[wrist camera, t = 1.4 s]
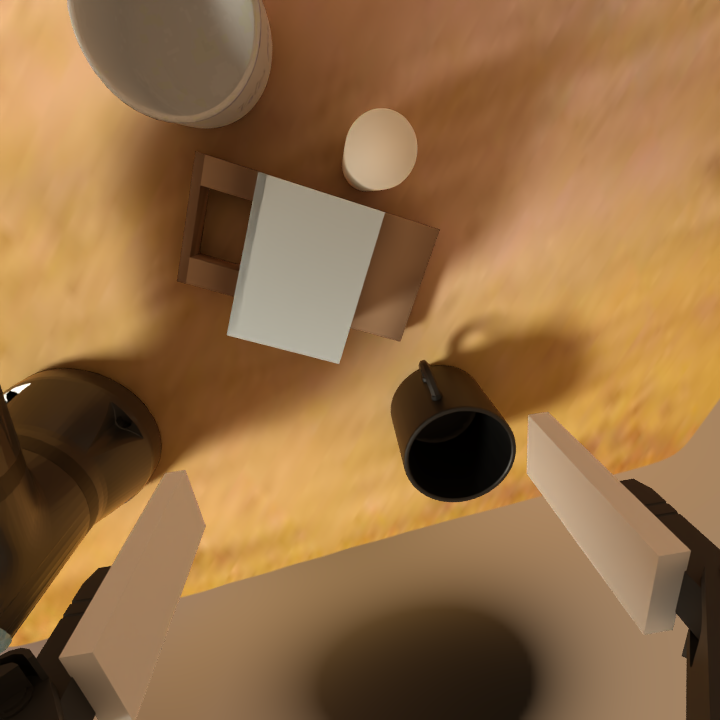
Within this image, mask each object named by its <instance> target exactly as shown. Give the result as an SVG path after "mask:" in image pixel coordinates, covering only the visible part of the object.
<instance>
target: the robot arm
mask: <svg viewBox="0 0 720 720" xmlns="http://www.w3.org/2000/svg"><path fill="white" fill-rule="evenodd" d="M160 455H161V438H160V433H159V430H158V427H157V424H156V422H155V420H154V418H153V416H152V415H151V413H150V412H149V410H148V409H147V408H146V406H145V405H144V404H143V403H142V402H141V401H140V400H139V399H138V398H137V397H136V396H135V395H134V394H133V393H132V392H130V391H129V390H128V389H126V388H125V387H123V386H122V385H120V384H119V383H117V382H115V381H113V380H111V379H109V378H107V377H104V376H102V375H99V374H96V373H93V372H89V371H84V370H78V369H52V370H46V371H42V372H39V373H36V374H33V375H31V376H29V377H27V378H26V379H24V380H22V381H21V382H19V383H17V384H16V385H14V386H12V387H10V388H9V389H8V390H6V391H5V392H4V393H3V392H2V389H1V386H0V653H1V652H3V651H5V650H6V649H7V648H8V646H9V645H10V643H11V641H12V640H11V639H12V638H13V636H14V635H15V633H16V632H17V631H18V629H19V628H20V626H21V625H22V624H23V622H24V621H25V619H26V618H27V617H28V615H29V614H30V612H31V611H32V610H33V608H34V607H35V605H36V604H37V603H38V601H39V600H40V598H41V597H42V596H43V594H44V593H45V591H46V590H47V589H48V587H49V586H50V584H51V583H52V582H53V580H54V579H55V577H56V576H57V575H58V573H59V572H60V570H61V569H62V568H63V566H64V565H65V563H66V562H67V561H68V559H69V558H70V556H71V555H72V554H73V552H74V551H75V549H76V548H77V547H78V545H79V544H80V543H81V541H82V540H83V538H84V537H85V536H86V534H87V533H88V532H89V530H90V529H91V528H92V526H93V525H94V524H96V523H97V522H98V521H100V520H101V519H103V518H104V517H106V516H107V515H109V514H110V513H112V512H113V511H114V510H116V509H117V508H118V507H120V506H121V505H123V504H124V503H126V502H128V501H129V500H130V499H132V498H133V497H134V496H135V495H137V494H138V493H139V492H140V491H141V489H142V488H143V487H144V486H145V484H146V483H147V481H148V480H149V478H150V477H151V475H152V474H153V472H154V471H155V469H156V467H157V465H158V462H159V459H160ZM527 474H528V476H529V477H530V479H531V480H532V481H533V483H534V484H535V485H536V487H537V488H538V490H539V491H540V492H541V494H542V495H543V496H544V498H545V499H546V500H547V502H548V503H549V505H550V506H551V507H552V509H553V510H554V512H555V513H556V514H557V516H558V517H559V518H560V520H561V521H562V523H563V524H564V525H565V527H566V528H567V530H568V531H569V532H570V534H571V535H572V536H573V538H574V539H575V541H576V542H577V543H578V545H579V546H580V547H581V549H582V550H583V552H584V553H585V554H586V556H587V557H588V558H589V560H590V561H591V563H592V564H593V565H594V567H595V568H596V570H597V571H598V572H599V574H600V575H601V576H602V578H603V579H604V580H605V582H606V583H607V585H608V586H609V587H610V589H611V590H612V592H613V593H614V594H615V596H616V597H617V599H618V600H619V601H620V603H621V604H622V605H623V607H624V608H625V610H626V611H627V612H628V614H629V615H630V616H631V618H632V619H633V620H634V622H635V623H636V625H637V626H638V627H639V629H640V630H641V632H642V633H643V634H644V635H646V634H652V633H657V632H663V631H669V630H673V626H674V622H675V618H676V614H677V615H678V616H679V617H680V618H681V620H682V621H683V622H684V623H685V624H686V625H687V627H688V628H689V630H688V633H687V638H686V642H685V646H684V649H683V653H682V656H683V657H685V658H687V680H686V682H687V683H686V687H687V689H686V720H720V549H719V548H717V547H716V546H715V545H714V544H713V543H712V542H711V541H709V539H707V538H706V537H705V536H704V535H703V534H702V533H700V531H699V530H697V529H696V528H695V527H694V526H693V525H692V524H691V523H689V522H688V521H687V520H686V519H685V518H684V517H683V516H682V515H680V514H678V513H677V511H676V510H675V509H674V508H673V507H672V506H671V505H669V504H667V503H666V501H665V500H664V499H662V497H660V495H658V494H657V493H656V492H655V491H654V490H653V489H652V488H650V487H648V486H646V485H644V484H642V483H640V482H638V481H637V480H635V479H629V480H623V481H619V480H618V479H616V478H615V477H614V476H613V475H612V474H611V473H610V472H609V471H608V470H607V469H606V468H605V467H604V466H603V465H602V464H601V463H600V462H599V461H598V460H597V459H596V458H595V457H594V456H593V455H592V454H591V453H590V452H589V451H588V450H587V449H586V448H585V447H584V446H583V445H582V444H581V443H579V442H578V441H577V440H576V439H575V438H574V437H573V436H572V435H571V434H570V433H569V432H568V431H567V430H566V429H565V428H564V427H563V426H562V425H561V424H560V423H559V422H558V421H557V420H556V419H555V418H554V417H553V416H552V415H551V414H550V413H549V412H543V413H537V414H531V415H528V445H527ZM205 527H206V525H205V523H204V520H203V517H202V514H201V512H200V509H199V506H198V503H197V501H196V498H195V495H194V492H193V490H192V487H191V484H190V481H189V479H188V476H187V473H186V470H182V471H176V472H169V473H165V474H164V476H163V477H162V479H161V481H160V483H159V484H158V486H157V488H156V490H155V491H154V493H153V495H152V497H151V498H150V500H149V502H148V504H147V505H146V507H145V509H144V510H143V512H142V514H141V516H140V517H139V519H138V521H137V523H136V524H135V526H134V528H133V530H132V531H131V533H130V535H129V536H128V538H127V540H126V542H125V543H124V545H123V547H122V549H121V550H120V552H119V554H118V556H117V557H116V559H115V561H114V563H113V564H112V566H108V567H102V568H98V569H97V570H96V571H95V572H94V573H93V574H92V575H91V576H90V577H89V578H88V579H87V580H86V581H85V582H84V583H83V584H82V586H81V588H80V589H79V591H78V592H77V594H76V596H75V597H74V599H73V600H72V604H70V605H69V607H68V608H67V610H66V612H65V613H64V615H63V618H62V619H61V620H60V621H59V623H58V624H57V626H56V628H55V629H54V631H53V632H52V634H51V636H50V637H49V639H48V640H47V642H46V644H45V645H44V647H43V649H42V650H41V652H40V654H39V655H38V657H37V658H35V656H34V655H33V654H32V652H31V651H30V650H29V649H25V648H19V649H15V650H11V651H8V652H6V653H4V654H2V655H1V656H0V720H93V719H94V716H96V717H97V719H98V720H136V718H137V715H138V712H139V709H140V707H141V704H142V701H143V698H144V696H145V693H146V690H147V687H148V685H149V682H150V679H151V676H152V673H153V671H154V668H155V665H156V662H157V660H158V657H159V654H160V651H161V649H162V646H163V643H164V640H165V637H166V634H167V632H168V629H169V626H170V624H171V621H172V618H173V615H174V613H175V610H176V607H177V604H178V601H179V599H180V596H181V593H182V590H183V588H184V585H185V582H186V579H187V577H188V574H189V571H190V568H191V565H192V563H193V560H194V557H195V554H196V552H197V549H198V546H199V543H200V540H201V538H202V535H203V532H204V529H205Z"/></svg>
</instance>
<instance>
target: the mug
mask: <svg viewBox="0 0 720 720" xmlns="http://www.w3.org/2000/svg"><path fill="white" fill-rule="evenodd" d="M419 368H420V370H418V371H416V372H414V373H413V374H411V375H410V376H409V377H407V378H406V379H405V380H404V381H403V382H402V383H401V385H400V386H399V387H398V389H397V390H396V392H395V394H394V397H393V400H392V404H391V416H392V421H393V425H394V429H395V433H396V437H397V441H398V445H399V449H400V453H401V457H402V461H403V465H404V469H405V472H406V475H407V477H408V479H409V480H410V482H411V483H412V484H413V486H414V487H415V488H416V489H417V490H419V491H420V492H421V493H423V494H424V495H426V496H428V497H430V498H432V499H435V500H439V501H444V502H462V501H468V500H471V499H475V498H477V497H480V496H482V495H484V494H486V493H488V492H490V491H491V490H492V489H494V488H495V487H496V486H498V485H499V484H500V483H501V482H502V481H503V480H504V478H505V477H506V476H507V474H508V473H509V471H510V469H511V468H512V465H513V462H514V459H515V454H516V443H515V438H514V435H513V432H512V430H511V428H510V427H509V425H508V424H507V422H506V421H505V420H504V418H503V417H502V416H501V414H500V413H499V412H498V410H497V409H496V408H495V406H494V405H493V404H492V402H491V401H490V400H489V398H488V397H487V396H486V394H485V393H484V392H483V390H482V389H481V388H480V386H479V385H478V384H477V382H476V381H475V380H474V379H473V378H472V377H471V376H470V375H469V374H468V373H466V372H465V371H463V370H461V369H459V368H456V367H452V366H446V365H436V366H430V365H429V364H428V363H427V362H426V361H425V360H422V361H420V363H419Z"/></svg>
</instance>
